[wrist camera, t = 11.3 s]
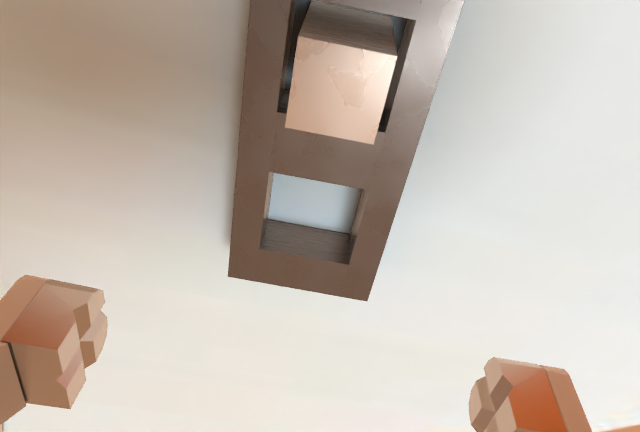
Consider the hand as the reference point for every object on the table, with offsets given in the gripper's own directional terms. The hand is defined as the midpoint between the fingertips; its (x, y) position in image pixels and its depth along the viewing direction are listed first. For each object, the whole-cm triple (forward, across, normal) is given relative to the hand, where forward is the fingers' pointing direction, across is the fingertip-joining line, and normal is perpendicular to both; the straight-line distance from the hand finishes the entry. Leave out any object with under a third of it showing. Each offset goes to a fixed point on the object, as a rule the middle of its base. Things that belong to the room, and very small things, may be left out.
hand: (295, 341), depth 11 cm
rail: (+19, 0, -4) cm, 19 cm away
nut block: (+19, 0, 0) cm, 19 cm away
